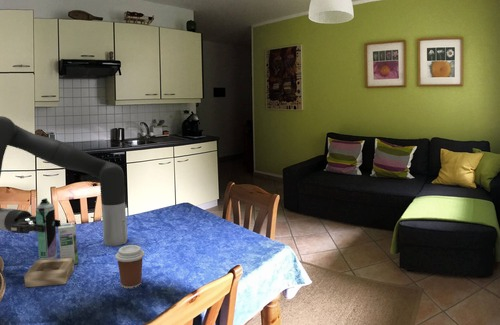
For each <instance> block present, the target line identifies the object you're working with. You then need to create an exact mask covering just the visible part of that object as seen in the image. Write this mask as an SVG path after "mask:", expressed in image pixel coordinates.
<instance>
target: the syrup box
mask: <svg viewBox="0 0 500 325" xmlns="http://www.w3.org/2000/svg"><path fill="white" fill-rule="evenodd" d="M60 224H61V226H59V227H57V233H58V245H59V256H60V257H59V259H63V258H73V259H74V265H76V264H77V265H78V264H79V258H78V257H79V256H78V255H79V254H78V242H77V229H76V223H75V221H72V222H66V223H60Z"/></svg>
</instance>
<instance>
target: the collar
mask: <svg viewBox="0 0 500 325" xmlns="http://www.w3.org/2000/svg"><path fill="white" fill-rule="evenodd" d="M74 269H75V264H74V259H73V258H63V259H60V258H54V259H51V260H40V259H38V260H35V262H34V263H33V264H32V265H31V266H30V268H29V269H28V270H27V272H26V273H25V274H24V275H23V278H24V287H25V288H31V287H32V288H33V287H44V286H46V287H47V286H56V285H66V284H67V283H68V281H69V278H70V277H71V276H72V273H73V271H74Z"/></svg>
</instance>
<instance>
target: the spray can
mask: <svg viewBox="0 0 500 325" xmlns="http://www.w3.org/2000/svg"><path fill="white" fill-rule="evenodd" d="M55 214H56V211H55V204H52V203H50V201H49V200H48V198H43V199H41V201H40V203H39V204H38V205H36V206H35V216H36V223H37V224H38V225H45V226H46V232H44V233H43V232H36V236H37V249H38V260H51V259H57V257H58V244H57V243H58V242H57V227H56V225H55V220H56V215H55Z"/></svg>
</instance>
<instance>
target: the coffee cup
mask: <svg viewBox="0 0 500 325" xmlns="http://www.w3.org/2000/svg"><path fill="white" fill-rule="evenodd" d="M114 257H115V260H116V261H117V264H118V272H119V273H118V274H119V278H120V280H119V281H120V286H121V287H122V288H123V287H124V289H128V288H129V289H134V288H133V287H135V288H138V287H140V286H141V285H142V283H141V282H142V281H143V280H142V277H143V275H142V274H143V258H144V257H145V251H144V250H143V249H142V247H141V246H140V245H136V244H128V245H124V246H122V247H119V249H118V252H117V253H115V256H114ZM140 284H141V285H140ZM139 285H140V286H139ZM137 286H138V287H137Z"/></svg>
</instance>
